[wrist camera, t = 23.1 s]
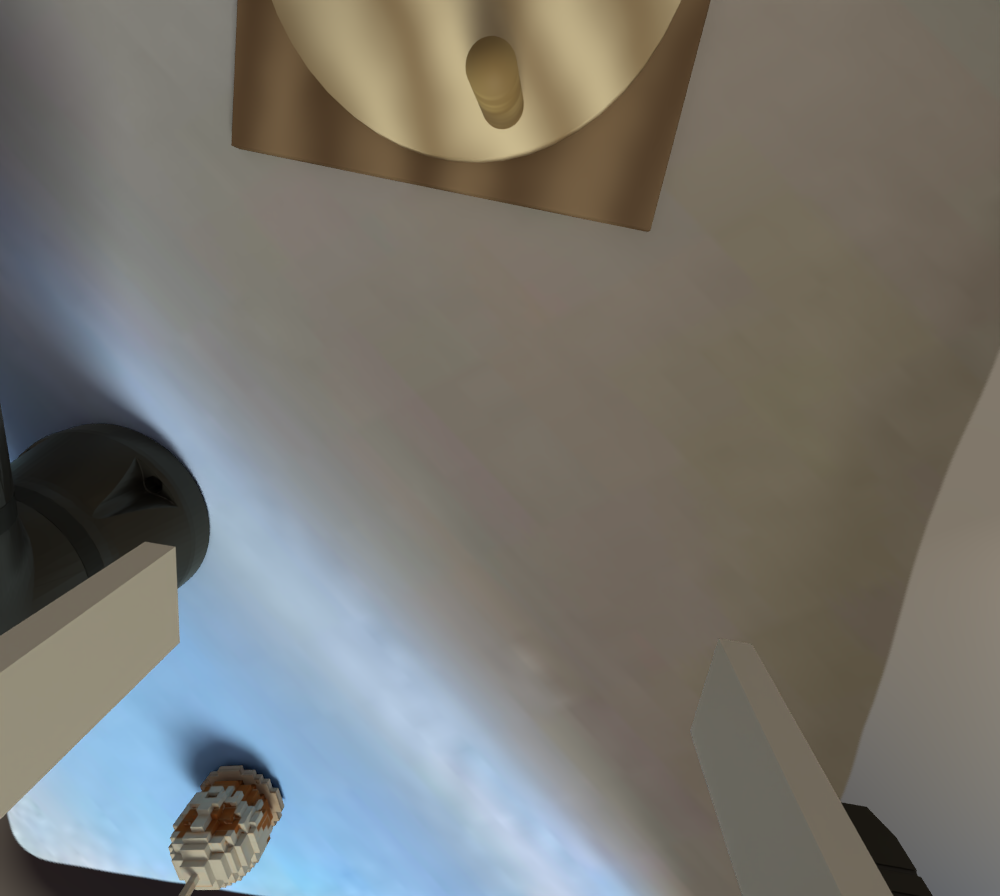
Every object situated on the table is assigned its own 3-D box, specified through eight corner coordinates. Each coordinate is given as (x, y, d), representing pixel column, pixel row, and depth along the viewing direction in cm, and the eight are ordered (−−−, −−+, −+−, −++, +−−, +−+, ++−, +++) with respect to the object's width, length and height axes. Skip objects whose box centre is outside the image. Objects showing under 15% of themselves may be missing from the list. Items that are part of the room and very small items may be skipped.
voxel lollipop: (273, 759, 51) (164, 944, 37) (294, 823, 53) (199, 1022, 39) (196, 762, 52) (61, 944, 38) (220, 825, 54) (101, 1019, 40)
